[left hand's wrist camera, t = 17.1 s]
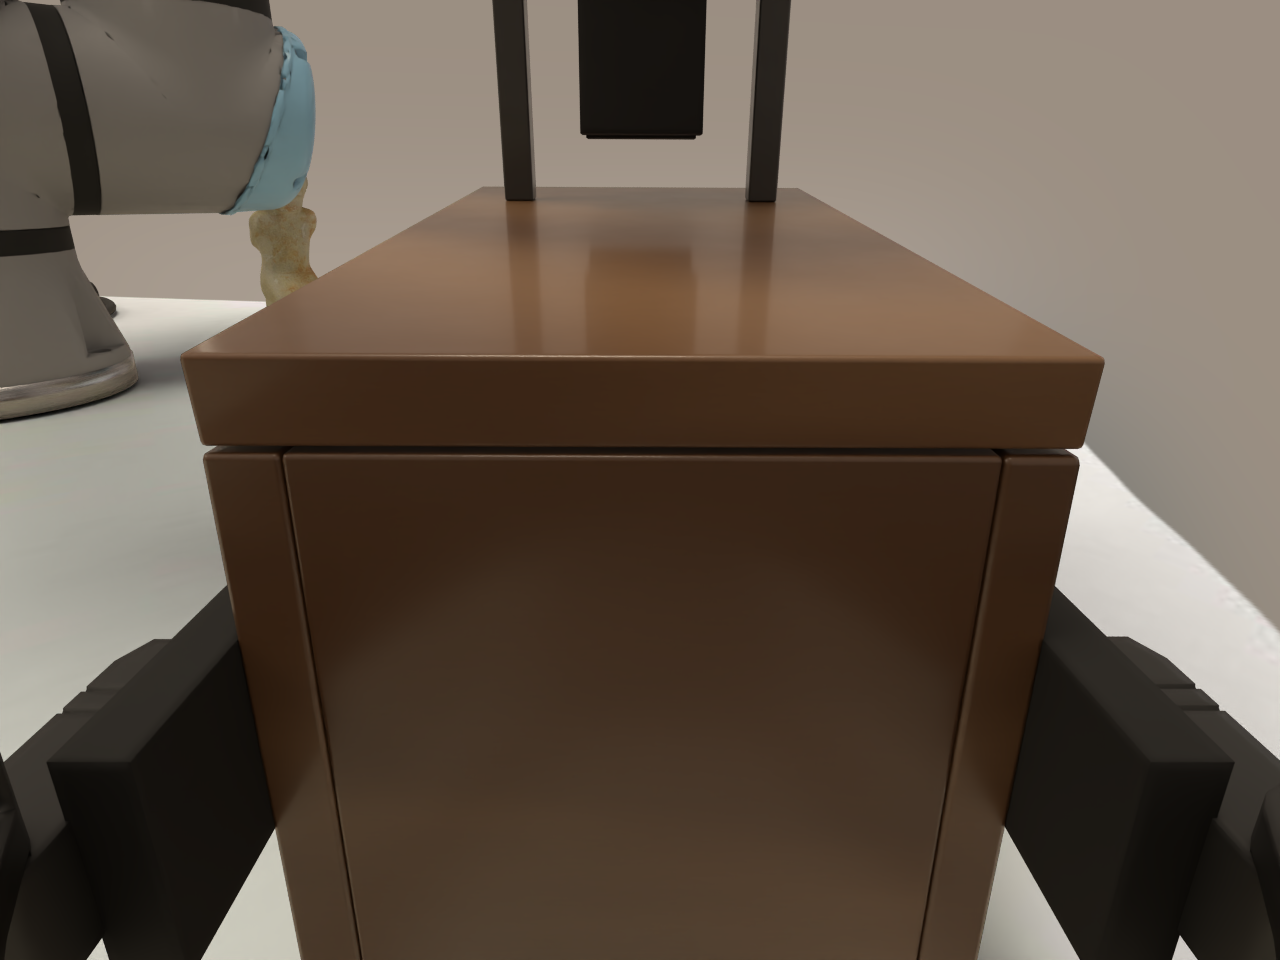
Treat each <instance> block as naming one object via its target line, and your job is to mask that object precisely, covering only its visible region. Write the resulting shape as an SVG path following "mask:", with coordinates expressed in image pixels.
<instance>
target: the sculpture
mask: <svg viewBox="0 0 1280 960" xmlns="http://www.w3.org/2000/svg"><path fill="white" fill-rule="evenodd" d="M307 185H308V182H307V177H306V179H305V181H304V184H303V186H302V188H301V190H300V192H299V193H298V194H297V196H296V197H295V198H294V199H293V200H292V201H291V202H290V203H288V204H287V205H285V206H283V207H281V208H278V209H272V210H258V211H256V212H254V213H253V214H252V215H251V217H250V219H249V228H250V239H251V242H252V244H253V246H254V247H256V248H257V249H258V250H259V251H260V253H261V256H262V267H261V276H260V278H261V289H262V292H263V294H264V296H265V298H266V306H269V305H271V304H273V303H274V302H276V301H278V300H280V299H282V298H283V297H285V296H287V295H289V294H291V293H292V292H294V291H296V290H298V289H300V288H301V287H303V286H305V285H307V284H309V283H310V282H312V281H314V280H316V279H318V278H317V276H316V275H315V273H314V272H313V270H312V269H311V267H310V264H309V243H310V238H311V236H312V234H313V232H314V230H315V228H316V216H315V213H314V212H313V211H311V210H310V209H307V208H303V207H302V203H303V198H304V194H305V192H306V189H307Z"/></svg>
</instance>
